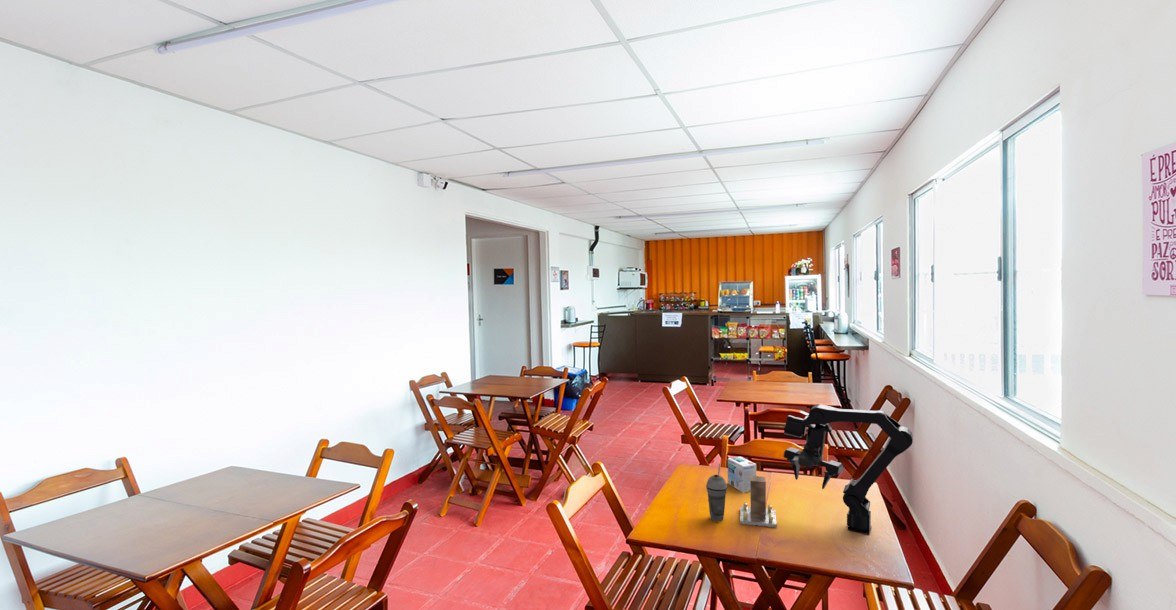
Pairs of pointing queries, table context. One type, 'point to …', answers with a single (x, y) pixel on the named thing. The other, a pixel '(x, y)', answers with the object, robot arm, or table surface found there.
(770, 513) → the plate
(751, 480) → the walnut block
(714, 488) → the beverage cup
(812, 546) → the table surface
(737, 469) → the light bulb box
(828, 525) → the table surface
